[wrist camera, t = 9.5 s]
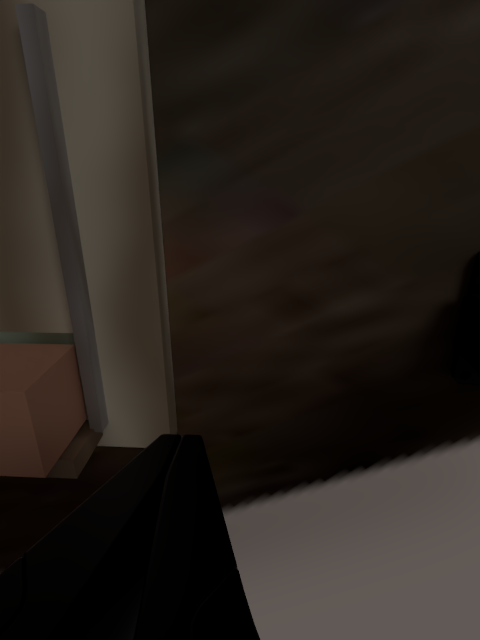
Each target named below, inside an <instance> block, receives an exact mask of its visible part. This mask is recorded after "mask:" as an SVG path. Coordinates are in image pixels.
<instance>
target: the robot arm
mask: <svg viewBox="0 0 480 640" xmlns="http://www.w3.org/2000/svg"><path fill="white" fill-rule="evenodd" d="M453 348H454V349H455V354H454V358H453V363H452V367H451V376H452V377H453V378H454V380H455V381H456V382H458V383H459V384H473V385H480V252H479V254H478V255H477V257H476V259H475V264H474V268H473V273H472V277H471V282H470V286H469V291H468V294H467V295H466V296H465V297H464V298H463V301H462V306H461V311H460V315H459V320H458V324H457V329H456V333H455V338H454V342H453ZM465 370H467V372H466V373H465V374H464V375H461V376H460V373H461V372H462V371H465ZM0 640H260V638H259V635H258V633H257V630H256V627H255V625H254V622H253V618H252V615H251V612H250V609H249V606H248V602H247V599H246V596H245V592H244V589H243V585H242V582H241V578H240V574H239V571H238V569H237V564H236V560H235V557H234V553H233V550H232V546H231V542H230V538H229V535H228V531H227V527H226V523H225V520H224V516H223V512H222V509H221V505H220V501H219V498H218V494H217V490H216V486H215V483H214V479H213V475H212V472H211V468H210V464H209V461H208V457H207V453H206V450H205V446H204V442H203V439H202V437H201V436H200V435H183V436H182V437H181V436H180V435H179V434H162V435H160V436H159V437H158V438H157V439H155V440H154V441H153V442H152V443H151V444H150V445H148V446H147V447H146V448H145V449H144V450H143V451H142V452H140V453H139V454H138V455H137V456H136V457H135V458H133V459H132V460H131V461H130V462H129V463H128V464H127V465H125V466H124V467H123V468H122V469H121V470H120V471H118V472H117V473H116V474H115V475H114V476H113V477H112V478H110V479H109V480H108V481H107V482H106V483H105V484H103V485H102V486H101V487H100V488H99V489H98V490H97V491H95V492H94V493H93V494H92V495H91V496H90V497H89V498H87V499H86V500H85V501H84V502H83V503H82V504H80V505H79V506H78V507H77V508H76V509H75V510H74V511H72V512H71V513H70V514H69V515H68V516H67V517H65V518H64V519H63V520H62V521H61V522H60V523H59V524H57V525H56V526H55V527H54V528H53V529H52V530H50V531H49V532H48V533H47V534H46V535H45V536H44V537H42V538H41V539H40V540H39V541H38V542H37V543H35V544H34V545H33V546H32V547H31V548H30V549H29V550H27V551H26V552H25V553H24V558H23V557H19V558H18V559H17V560H16V561H14V562H13V563H12V564H11V565H10V566H9V567H8V568H6V569H5V570H4V571H3V572H2V573H1V574H0Z"/></svg>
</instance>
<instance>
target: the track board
mask: <svg viewBox="0 0 480 640" xmlns="http://www.w3.org/2000/svg"><path fill="white" fill-rule="evenodd" d="M0 343H26V344H70V345H75V350H76V356H77V361H78V367H79V373H80V378H81V384H82V390H83V395H84V401H85V407H86V412H87V419H86V420H85V422H84V423H83V425H82V426H81V428H80V429H79V430H78V432H77V433H76V435H75V436H74V438H73V439H72V440H71V442H70V443H69V445H68V446H67V448H66V449H65V450H64V452H63V453H62V455H61V456H60V458H59V459H58V460H57V462H56V463H55V465H54V466H53V468H52V469H51V470H50V472H49V473H48V475H47V476H46V477H49V478H72V479H77V478H78V476H79V475H80V473H81V471H82V470H83V468H84V466H85V464H86V463H87V461H88V459H89V458H90V456H91V454H92V453H93V451H94V449H95V448H96V446H114V447H140V448H146V447H147V446H148V445H150V444H151V443H152V442H153V441H154V440H155V439H157V438H158V437H159V436H160V435H162V434H176V433H177V419H176V406H175V393H174V380H173V367H172V354H171V341H170V328H169V314H168V301H167V288H166V275H165V262H164V249H163V236H162V223H161V210H160V197H159V184H158V170H157V157H156V144H155V131H154V118H153V105H152V92H151V79H150V66H149V53H148V40H147V26H146V13H145V0H0Z"/></svg>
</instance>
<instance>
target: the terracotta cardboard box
mask: <svg viewBox="0 0 480 640" xmlns="http://www.w3.org/2000/svg"><path fill="white" fill-rule="evenodd" d="M86 419H87V412H86V407H85V401H84V395H83V390H82V384H81V378H80V373H79V367H78V361H77V356H76V350H75V345H70V344H26V343H0V476H16V477H39V478H46V476H47V475H48V473H49V472H50V470H51V469H52V468H53V466H54V465H55V463H56V462H57V460H58V459H59V458H60V456H61V455H62V453H63V452H64V450H65V449H66V448H67V446H68V445H69V443H70V442H71V440H72V439H73V438H74V436H75V435H76V433H77V432H78V430H79V429H80V428H81V426H82V425H83V423H84V422H85V420H86Z"/></svg>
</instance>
